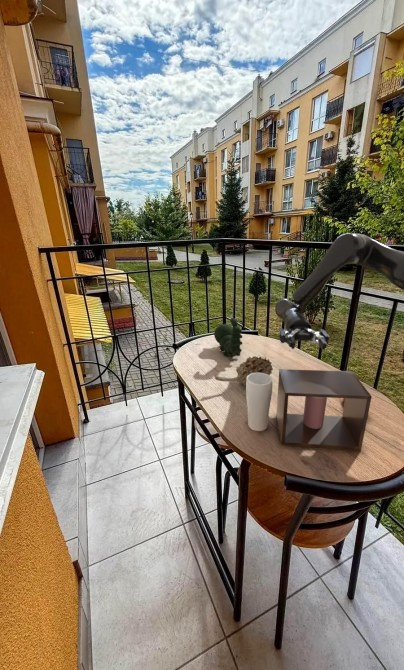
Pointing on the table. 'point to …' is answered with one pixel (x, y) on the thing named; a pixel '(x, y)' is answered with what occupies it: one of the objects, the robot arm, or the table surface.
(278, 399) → the cubby cabinet
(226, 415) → the table surface
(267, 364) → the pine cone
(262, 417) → the drinking glass
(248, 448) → the table surface
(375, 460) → the table surface
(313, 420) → the pink canister
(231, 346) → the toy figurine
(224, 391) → the table surface
